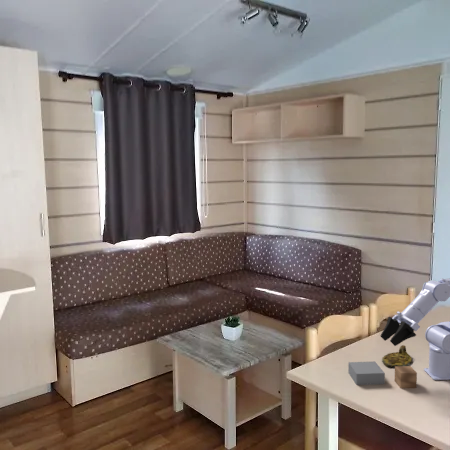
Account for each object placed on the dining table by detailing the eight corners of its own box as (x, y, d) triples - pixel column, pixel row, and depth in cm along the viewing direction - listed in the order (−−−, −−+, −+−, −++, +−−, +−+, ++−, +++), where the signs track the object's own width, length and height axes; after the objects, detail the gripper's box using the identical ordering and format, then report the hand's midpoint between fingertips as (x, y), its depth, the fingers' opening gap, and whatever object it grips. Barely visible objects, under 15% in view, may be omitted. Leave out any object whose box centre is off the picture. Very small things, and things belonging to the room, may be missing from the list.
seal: (402, 375, 160) (416, 360, 171) (404, 362, 159) (418, 348, 170) (375, 365, 165) (391, 351, 177) (377, 353, 164) (392, 339, 176)
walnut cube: (410, 380, 153) (410, 366, 152) (416, 388, 148) (416, 372, 147) (394, 381, 153) (394, 366, 152) (400, 388, 148) (400, 373, 147)
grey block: (374, 372, 160) (375, 361, 159) (384, 385, 151) (384, 373, 150) (348, 373, 159) (348, 362, 159) (356, 385, 150) (356, 373, 150)
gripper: (398, 298, 159) (370, 327, 158) (418, 304, 144) (388, 336, 143) (412, 313, 159) (384, 342, 158) (434, 321, 144) (404, 353, 143)
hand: (387, 340), depth 151 cm, fingers open, 7 cm apart
